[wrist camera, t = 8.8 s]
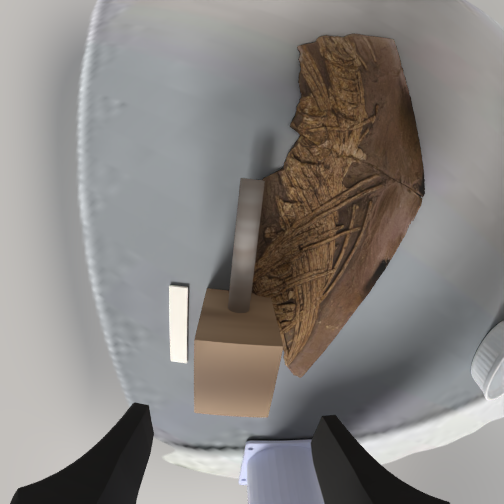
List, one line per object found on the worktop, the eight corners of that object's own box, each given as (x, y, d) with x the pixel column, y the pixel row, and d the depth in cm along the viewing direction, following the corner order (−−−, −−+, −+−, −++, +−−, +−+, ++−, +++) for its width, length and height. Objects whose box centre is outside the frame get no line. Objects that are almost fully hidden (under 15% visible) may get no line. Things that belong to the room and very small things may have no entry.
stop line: (187, 361, 19) (186, 363, 19) (171, 359, 19) (170, 361, 19) (188, 286, 18) (187, 288, 18) (170, 284, 18) (169, 285, 18)
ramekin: (454, 385, 23) (473, 408, 18) (488, 314, 20) (514, 334, 16) (494, 374, 23) (512, 392, 19) (523, 313, 21) (545, 328, 17)
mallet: (260, 356, 20) (267, 417, 14) (204, 352, 19) (194, 412, 14) (284, 182, 16) (309, 188, 11) (216, 175, 16) (204, 176, 10)
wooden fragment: (310, 7, 13) (314, -1, 12) (441, 73, 15) (449, 70, 14) (209, 357, 20) (208, 366, 19) (343, 377, 21) (347, 385, 20)
